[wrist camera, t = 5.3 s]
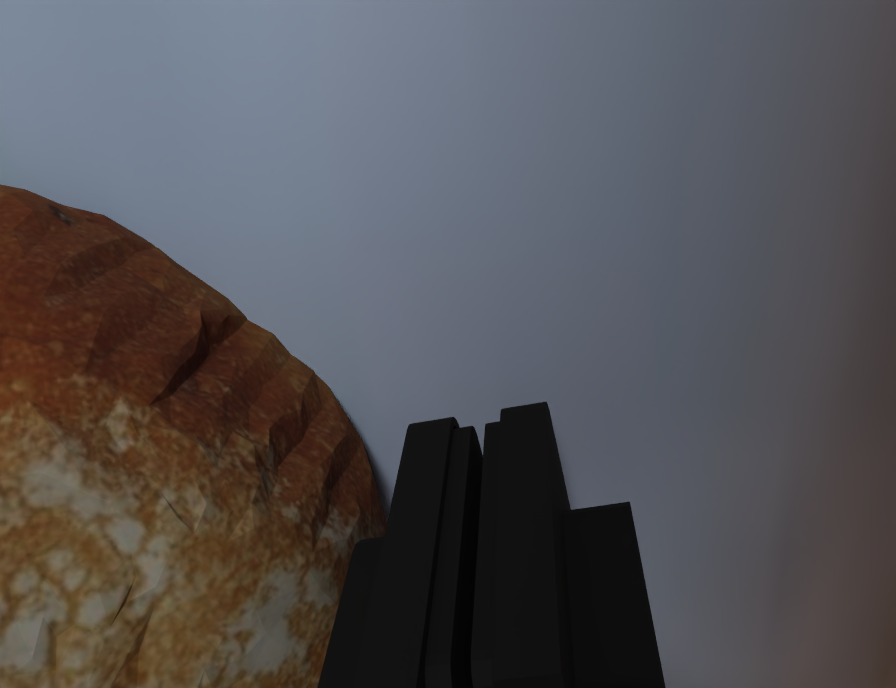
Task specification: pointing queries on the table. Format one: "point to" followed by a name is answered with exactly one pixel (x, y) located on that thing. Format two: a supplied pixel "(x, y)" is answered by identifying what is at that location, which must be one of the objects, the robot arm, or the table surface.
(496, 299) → the table surface
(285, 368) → the bread roll
